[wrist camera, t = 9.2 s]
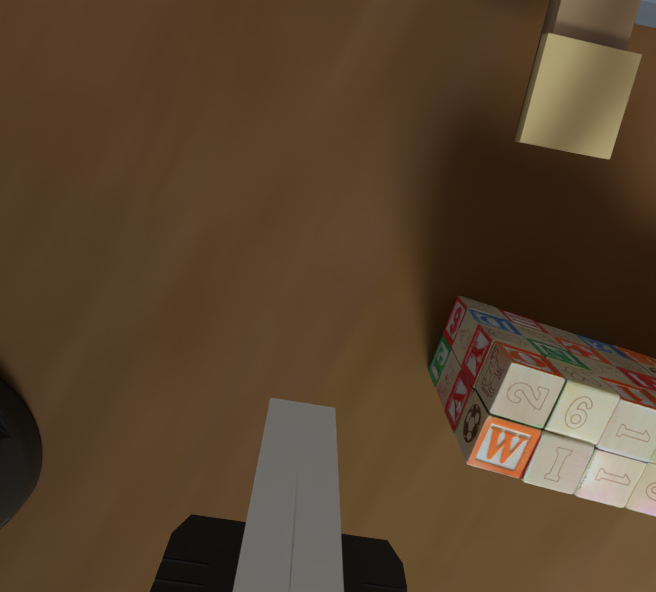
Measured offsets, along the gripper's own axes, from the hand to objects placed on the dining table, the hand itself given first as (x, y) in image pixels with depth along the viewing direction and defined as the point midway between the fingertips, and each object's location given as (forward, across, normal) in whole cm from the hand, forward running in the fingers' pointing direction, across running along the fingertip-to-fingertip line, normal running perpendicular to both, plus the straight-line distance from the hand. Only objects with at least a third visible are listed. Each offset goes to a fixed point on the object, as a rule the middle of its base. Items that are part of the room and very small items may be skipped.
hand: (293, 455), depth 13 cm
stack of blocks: (+27, +21, -6) cm, 35 cm away
